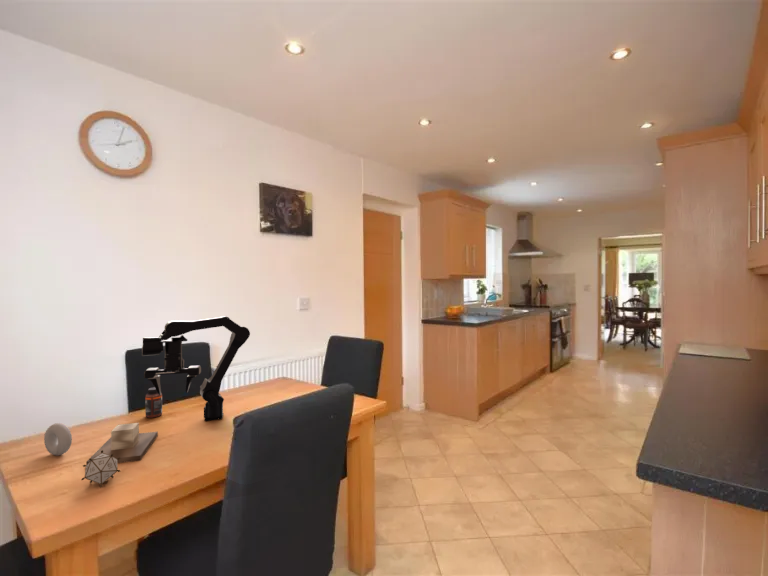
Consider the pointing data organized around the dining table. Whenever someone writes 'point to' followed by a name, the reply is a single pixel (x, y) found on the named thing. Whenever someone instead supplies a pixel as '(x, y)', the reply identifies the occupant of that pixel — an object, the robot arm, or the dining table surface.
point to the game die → (101, 468)
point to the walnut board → (129, 453)
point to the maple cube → (124, 436)
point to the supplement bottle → (153, 403)
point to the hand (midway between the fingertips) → (173, 393)
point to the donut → (57, 439)
